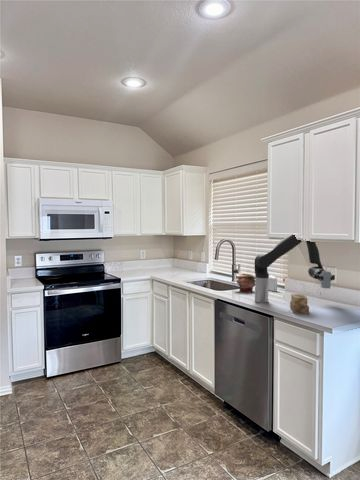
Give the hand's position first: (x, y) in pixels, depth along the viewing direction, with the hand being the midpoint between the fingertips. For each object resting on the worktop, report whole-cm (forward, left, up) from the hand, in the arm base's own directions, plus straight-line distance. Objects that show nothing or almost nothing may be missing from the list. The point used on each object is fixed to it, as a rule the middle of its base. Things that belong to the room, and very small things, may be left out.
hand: (327, 278), depth 213 cm
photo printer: (-28, +70, -22) cm, 78 cm away
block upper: (-16, +1, -17) cm, 23 cm away
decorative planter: (-48, +60, -22) cm, 80 cm away
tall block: (0, +3, -6) cm, 7 cm away
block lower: (-16, +1, -22) cm, 27 cm away
